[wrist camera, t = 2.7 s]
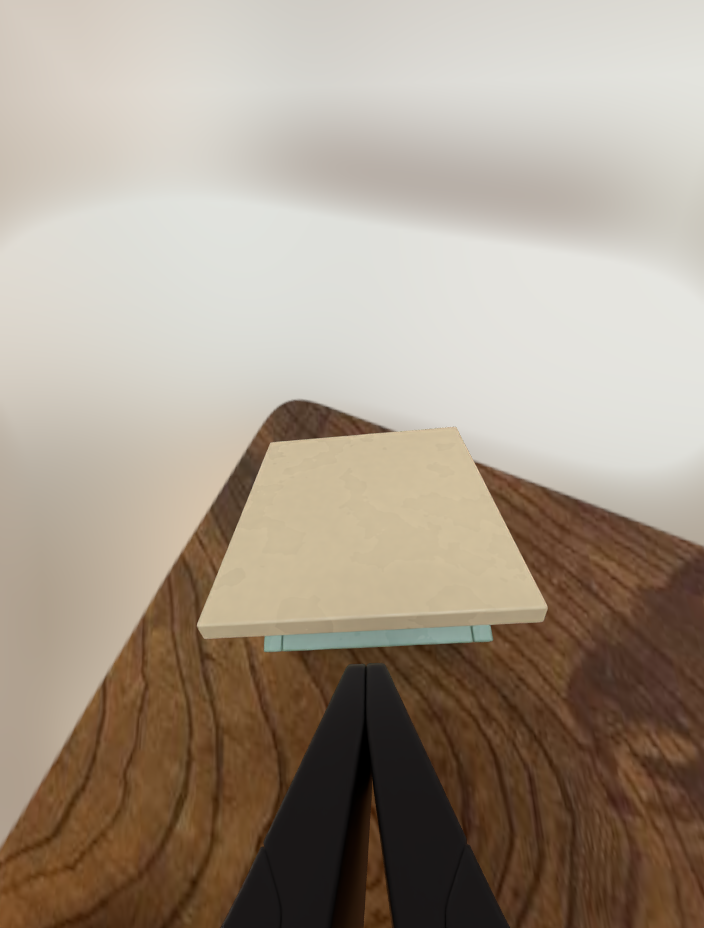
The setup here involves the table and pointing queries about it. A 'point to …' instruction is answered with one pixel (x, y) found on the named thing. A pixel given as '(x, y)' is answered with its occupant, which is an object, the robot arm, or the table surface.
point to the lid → (369, 542)
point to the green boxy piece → (378, 638)
